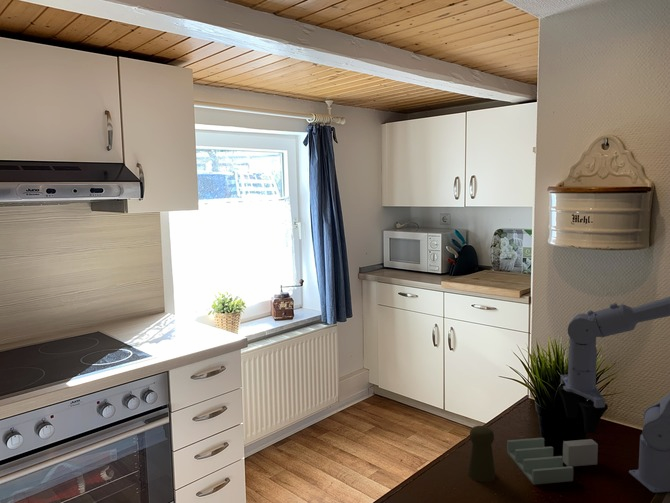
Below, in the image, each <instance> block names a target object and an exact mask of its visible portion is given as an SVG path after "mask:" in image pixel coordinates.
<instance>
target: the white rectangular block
mask: <svg viewBox="0 0 670 503" xmlns="http://www.w3.org/2000/svg"><path fill="white" fill-rule="evenodd" d="M598 452H599V444H598V443H597V442H596V441H595V440H593V439H592V438H588V439H576V440H563V442H562V457H563V464H565V465H566V467H567V466H572V467H581V466H595V465H596V466H597V465H598V458H599V457H598Z"/></svg>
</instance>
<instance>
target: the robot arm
mask: <svg viewBox="0 0 670 503" xmlns="http://www.w3.org/2000/svg"><path fill="white" fill-rule="evenodd" d="M667 317H670V296H667V297H664V298H661V299H657V300H654V301H651V302H648V303H644V304H641V305H637V306H634V307H631V306H628V305H626V304H623V303H622V304H619V305H618V304H617V303H616V302H614V303H611V304H610V305H609V307H608V308H603V309H599V310H596V311H593V310H588V311H587V313H579V314H576V315H574V317H572V319H571V321H570V322H569V324H568V326H567V335H568V336H569V341H568V342H569V346H568V358H567V359H568V362H567V364H568V365H567V366H568V370H567V374H560V383H561V382H562V383H561V384H562V385H561V386H557V391H558V393H559V395H560V398H561V401H562V403H563V408H564V411H565V416H566V418H568V419H573V418H574V419H575V418H577V416H578V413H579V408H580V410H581V414H582V418H583V429H584V433H585V434H587V435H588V434H596V432H597V429H598V425H599V423H600V420H601V418H602V417H603V415H604V414H605V413H606V411H607V410H608V408H609V407H608V406H609V405H608V404H607V403H606V398H605V397H604V396H603V395H602V394H601V393H600V391H599V388H597V362H598V361H597V358H598V356H597V354H598V350H597V338H606V337H610V336H614V335H618V334H621V333H625V332H626V333H627V332H630V331H634V330H635V328H636V326H637V324H638V323H644V322H648V321H652V320H653V321H654V320H657V319H662V318H667ZM581 397H583V398H585V400H587V401H583V402H580V399H581ZM638 449H639V453H638V469H632V470H631V469H630V470H629V471H628V473H629V474H630V475H631V476H632V477H634V479H636V481H638V482H639V483H640V484H641V485H643V486H644V487H645V488H647V489H648V490H649V491H650V493H654V494H656V493H669V492H670V392H669V393H668V394H667V395H666V396H663V397H662V398H660V399H659V401H658V402H657V403H655V404H653V405H650V406H648V407H647V408H646V409H645V410H644V413H643V427H642V432H641V434H640V435H639V448H638Z"/></svg>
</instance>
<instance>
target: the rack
mask: <svg viewBox="0 0 670 503" xmlns="http://www.w3.org/2000/svg"><path fill="white" fill-rule="evenodd" d="M506 442H507V443H506V453H507V454H508V456H509V457H510V458H511V459H512V460H513V462H514V463H515V464H516V465H517V466H518V468H519V469H520V470H521V472H522V473H523V474H524V475H525V476H526V478H527V479H528V480H529V482H530V483H531V484H532V485H545V484H554V483H556V484H557V483H567V482H574V466H567V465H566V466H564V462H563V455H556V456H554V447H553V446H545V438H544V437H535V438H534V437H533V438H522V439H509V440H507V441H506Z"/></svg>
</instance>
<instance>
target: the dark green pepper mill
mask: <svg viewBox="0 0 670 503" xmlns="http://www.w3.org/2000/svg"><path fill="white" fill-rule="evenodd" d="M469 439H470V441H471V449H470V456H469V462H468V468H467V475H468V477H469V478H470V479H471V480H474V481H475V482H479V483H490V482H493V481H494V480H495V479H496V469H495V463H494V455H493V454H494V453H493V447H492V445H493V443H494V440H495V434H494V432H493V430H492V429H491V428H489V426H486V425H474V426H473V427H472V428H471V429H470V431H469Z"/></svg>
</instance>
